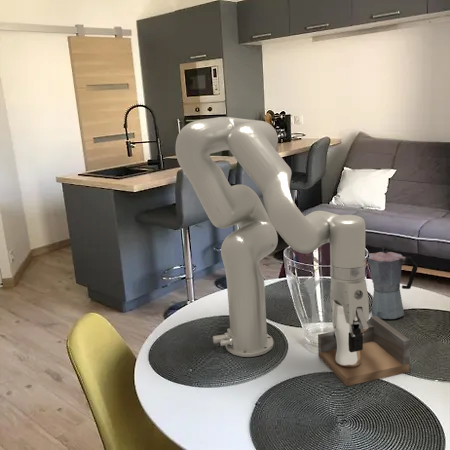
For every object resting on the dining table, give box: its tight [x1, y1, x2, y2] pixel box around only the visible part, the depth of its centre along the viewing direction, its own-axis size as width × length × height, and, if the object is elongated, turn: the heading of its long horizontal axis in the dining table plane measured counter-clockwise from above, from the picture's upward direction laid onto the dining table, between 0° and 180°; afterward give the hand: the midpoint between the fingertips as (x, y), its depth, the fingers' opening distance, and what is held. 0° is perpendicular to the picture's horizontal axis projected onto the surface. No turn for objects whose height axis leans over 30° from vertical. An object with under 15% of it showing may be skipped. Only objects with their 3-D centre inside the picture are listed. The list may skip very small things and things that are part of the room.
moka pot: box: [367, 246, 418, 320], centre depth 144 cm, size 10×15×20 cm, turn 54°
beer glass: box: [331, 300, 362, 367], centre depth 117 cm, size 7×7×15 cm
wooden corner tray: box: [317, 315, 411, 387], centre depth 121 cm, size 16×14×8 cm
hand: (347, 342), depth 118 cm, fingers closed on beer glass, 6 cm apart
